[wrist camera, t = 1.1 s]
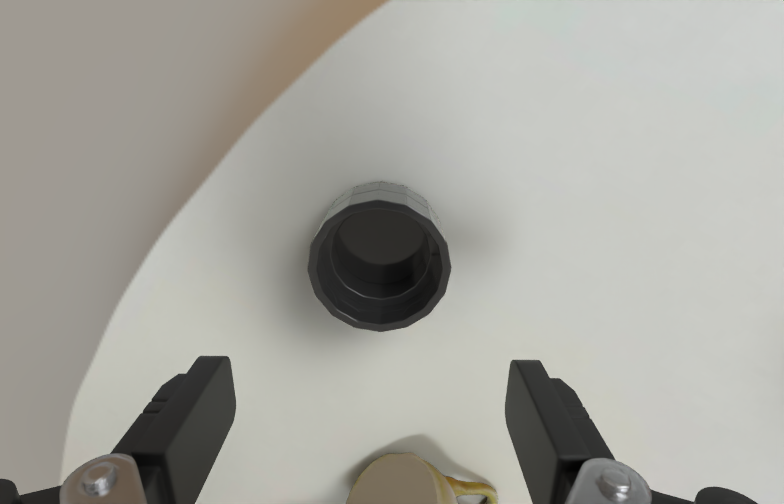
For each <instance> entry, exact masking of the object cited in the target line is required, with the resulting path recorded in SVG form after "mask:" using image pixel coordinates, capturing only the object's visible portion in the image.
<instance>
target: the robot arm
mask: <svg viewBox="0 0 784 504" xmlns="http://www.w3.org/2000/svg"><path fill="white" fill-rule="evenodd" d="M235 411H236V398H235V391H234V384H233V376H232V369H231V362H230V359H229V357H227V356H199V357H198V358H197V360H196V361H195V362H194V364H193V365H192V367H191V368H190V369H189V371H188V372H187V374H178V375H176V376H175V377H174V378H172V379H171V380H169V381H168V382H166V383H165V384H164V385H162V386H161V388H160V389H159V390H158V392H157V393H156V394H155V396H154V397H153V398H152V401H151V402H149V403H148V405H147V406H146V407H145V409H144V410H143V414H140V415H139V417H138V418H137V419H136V421H135V422H134V423H133V424H132V426H131V427H130V428H129V430H128V431H127V432H126V434H125V435H124V436H123V438H122V439H121V440H120V441H119V443H118V444H117V445H116V447H115V448H114V449H113V451H112V452H111V453H110V454H108V455H104V456H100V457H98V458H95V459H93V460H90V461H89V462H87V463H85V464H83V465H82V466H80V467H79V468H77V469H76V470H75V471H74V472H72V473H71V474H70V475H69V476H68V477H67V479H66V480H65V481H64V483H63V485H61V486H57V487H53V488H49V489H45V490H41V491H37V492H32V493H28V494H24V495H20V496H19V494H18V491H17V488H16V486H15V484H14V483H13V482H12V481H10V480H6V479H0V504H195V502H196V500H197V498H198V496H199V494H200V492H201V490H202V487H203V485H204V483H205V481H206V479H207V477H208V475H209V473H210V470H211V468H212V466H213V464H214V462H215V460H216V458H217V456H218V453H219V451H220V449H221V447H222V445H223V443H224V441H225V439H226V436H227V434H228V432H229V430H230V428H231V426H232V424H233V421H234V417H235ZM505 418H506V424H507V428H508V431H509V434H510V437H511V440H512V443H513V446H514V449H515V452H516V455H517V458H518V461H519V464H520V467H521V470H522V473H523V476H524V479H525V482H526V485H527V488H528V490H529V493H530V496H531V499H532V502H533V504H757V503H756V502H754V501H753V500H751V499H750V498H748V497H746V496H744V495H742V494H740V493H738V492H735V491H732V490H729V489H725V488H721V487H707V488H704V489H702V490H700V491H699V492H698V494H697V496H696V498H695V501H694V502H692V501H688V500H685V499H681V498H677V497H673V496H670V495H666V494H662V493H659V492H656V491H653V490H651V489H650V488H649V486H648V484H647V483H646V481H645V480H644V479H643V478H642V477H641V476H640V475H639V474H638V473H637V472H636V471H634V470H633V469H632V468H630V467H628V466H627V465H625V464H623V463H621V462H618V461H616V460H615V458H614V457H613V455H612V453H611V452H610V450H609V448H608V447H607V445H606V443H605V441H604V440H603V438H602V436H601V435H600V433H599V431H598V430H597V428H596V426H595V425H594V423H593V421H592V420H591V419H590V418H589V415H588V413H587V411H586V410H585V408H584V407H583V406H582V403H581V401H580V399H579V398H578V396H577V394H576V393H575V391H574V390H573V389H572V388H570V387H569V386H568V385H567V384H566V383H564V382H563V381H562V380H561V379H559V378H549V376H548V374H547V372H546V370H545V369H544V367H543V365H542V363H541V362H540V361H539V360H512V361H511V364H510V370H509V378H508V386H507V394H506V402H505Z"/></svg>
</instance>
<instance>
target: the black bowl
mask: <svg viewBox="0 0 784 504" xmlns="http://www.w3.org/2000/svg"><path fill="white" fill-rule="evenodd" d="M450 272H451V263H450V257H449V252H448V246H447V242H446V239H445V236H444V233H443V230H442V227H441V224H440V221H439V219H438V217H437V215H436V214H435V213H434V211H433V210H432V208H431V207H430V205H429V204H428V202H427V201H426V200H425V199H424V198H423V197H421V196H420V195H418V194H417V193H415V192H413V191H412V190H410V189H409V188H407V187H404V186H403V185H397V184H392V183H387V182H375V183H370V184H365V185H360V186H356V188H355V187H354V188H352V189H351V190H349V191H348V192H347V193H345V194H344V195H342V196H341V197H339V198H338V199H336V201H334V203H333V205H332V206H331V208H330V209H329V211H328V213H327V214H326V216H325V217H324V219H323V221H322V223H321V225H320V227H319V229H318V231H317V233H316V235H315V237H314V239H313V241H312V243H311V246H310V254H309V262H308V274H309V277H310V280H311V283H312V287H313V290H314V293H315V295H316V297H317V298H318V299H319V300H320V301H321V303H322V304H323V305H324V306H325V307H326V309H327V310H328V311H329V312H330V313H331V314H332V315H333V316H335V317H336V318H338V319H340V320H342V321H343V322H345V323H347V324H349V325H351V326H352V327H355V328H359V329H366V330H372V331H378V332H384V331H389V330H394V329H400V328H405V327H408V326H410V325H411V324H413V323H415V322H416V321H418V320H420V319H422V318H423V317H425V316H427V315H428V314H429V313H430V312H431V311H432V310H433V309H434V307H435V306H436V305H437V303H438V302H439V301H440V299H441V298H442V297H443V296H444V294H445V292H446V288H447V284H448V280H449V276H450Z"/></svg>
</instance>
